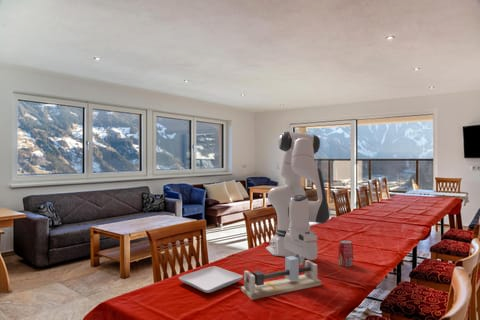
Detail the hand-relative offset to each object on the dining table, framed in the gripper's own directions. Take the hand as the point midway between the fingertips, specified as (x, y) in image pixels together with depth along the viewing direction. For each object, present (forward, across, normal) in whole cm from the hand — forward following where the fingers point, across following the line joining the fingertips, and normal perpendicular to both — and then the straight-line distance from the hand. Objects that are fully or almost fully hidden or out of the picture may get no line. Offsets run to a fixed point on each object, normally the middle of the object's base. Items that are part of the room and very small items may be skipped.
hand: (299, 264), depth 142 cm
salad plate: (+9, -18, -35) cm, 41 cm away
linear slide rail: (+9, 0, -9) cm, 13 cm away
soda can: (+9, -10, +35) cm, 38 cm away
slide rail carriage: (+6, 0, -4) cm, 7 cm away
